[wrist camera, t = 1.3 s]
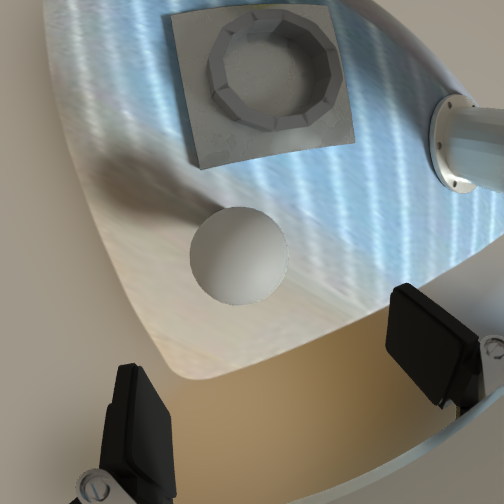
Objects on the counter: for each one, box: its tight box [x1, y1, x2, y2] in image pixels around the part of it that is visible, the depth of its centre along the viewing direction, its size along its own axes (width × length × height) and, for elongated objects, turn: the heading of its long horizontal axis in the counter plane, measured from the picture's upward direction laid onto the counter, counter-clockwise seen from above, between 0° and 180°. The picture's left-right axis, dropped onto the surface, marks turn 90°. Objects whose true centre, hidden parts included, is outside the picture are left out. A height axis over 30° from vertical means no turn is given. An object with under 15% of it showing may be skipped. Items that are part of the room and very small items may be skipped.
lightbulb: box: [190, 207, 289, 305], centre depth 21 cm, size 6×6×11 cm
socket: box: [206, 9, 343, 132], centre depth 19 cm, size 10×10×3 cm
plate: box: [171, 4, 355, 170], centre depth 21 cm, size 14×14×1 cm
